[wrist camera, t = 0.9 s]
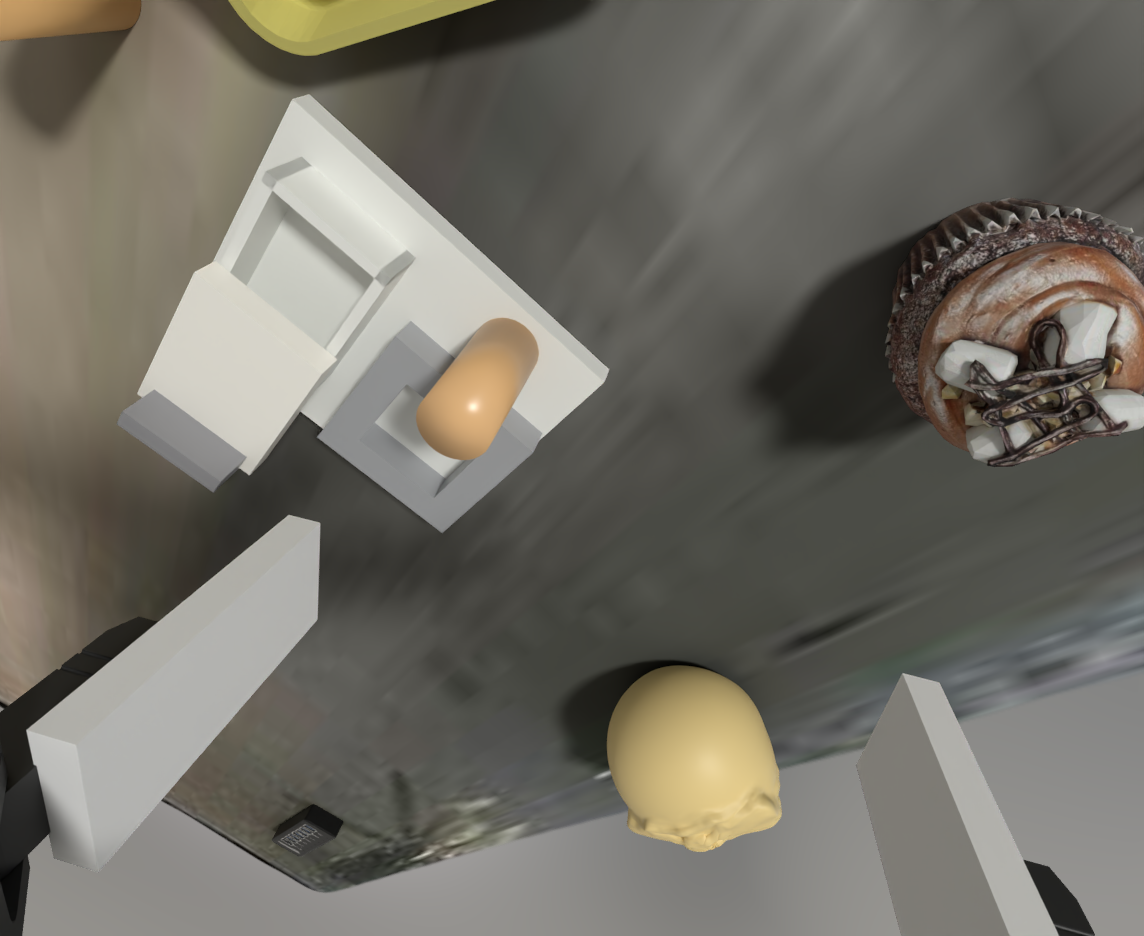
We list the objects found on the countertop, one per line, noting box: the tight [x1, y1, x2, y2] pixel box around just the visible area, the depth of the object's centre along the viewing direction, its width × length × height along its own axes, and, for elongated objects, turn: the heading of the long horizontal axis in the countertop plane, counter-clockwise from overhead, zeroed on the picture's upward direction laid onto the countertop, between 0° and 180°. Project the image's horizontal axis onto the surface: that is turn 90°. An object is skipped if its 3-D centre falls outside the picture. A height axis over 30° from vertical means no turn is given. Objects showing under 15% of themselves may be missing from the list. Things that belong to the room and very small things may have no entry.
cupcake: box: [885, 198, 1144, 467], centre depth 27 cm, size 10×10×10 cm
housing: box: [213, 95, 609, 533], centre depth 36 cm, size 16×20×10 cm
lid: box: [117, 261, 337, 493], centre depth 36 cm, size 10×7×4 cm
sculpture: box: [607, 665, 782, 852], centre depth 49 cm, size 12×12×11 cm
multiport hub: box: [272, 804, 343, 856], centre depth 83 cm, size 4×11×2 cm, turn 140°
